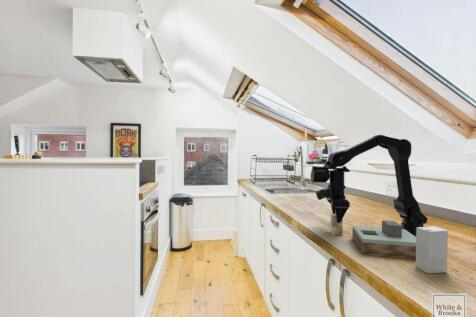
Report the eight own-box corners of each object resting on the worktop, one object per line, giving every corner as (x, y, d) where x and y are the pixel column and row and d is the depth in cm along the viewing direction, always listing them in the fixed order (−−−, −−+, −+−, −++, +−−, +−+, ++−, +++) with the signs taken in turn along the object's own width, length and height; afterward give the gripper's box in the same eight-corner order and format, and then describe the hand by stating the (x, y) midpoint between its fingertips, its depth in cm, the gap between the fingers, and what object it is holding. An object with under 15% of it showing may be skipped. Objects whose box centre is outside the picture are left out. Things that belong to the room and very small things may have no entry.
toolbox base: (404, 243, 86) (404, 232, 86) (425, 259, 72) (425, 247, 72) (352, 239, 90) (352, 228, 90) (362, 254, 77) (363, 242, 77)
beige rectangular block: (340, 232, 98) (340, 214, 98) (342, 235, 94) (342, 216, 94) (330, 231, 99) (330, 213, 99) (332, 235, 95) (332, 215, 95)
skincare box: (433, 265, 69) (433, 225, 68) (448, 273, 64) (449, 230, 64) (414, 266, 68) (414, 226, 68) (428, 274, 64) (428, 231, 63)
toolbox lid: (404, 232, 86) (404, 218, 86) (425, 247, 72) (425, 231, 72) (352, 228, 90) (352, 215, 90) (363, 242, 77) (363, 226, 76)
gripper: (314, 179, 107) (314, 212, 107) (318, 184, 89) (318, 224, 89) (340, 180, 104) (340, 214, 104) (350, 185, 86) (349, 227, 86)
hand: (336, 219), depth 96 cm, fingers open, 9 cm apart
